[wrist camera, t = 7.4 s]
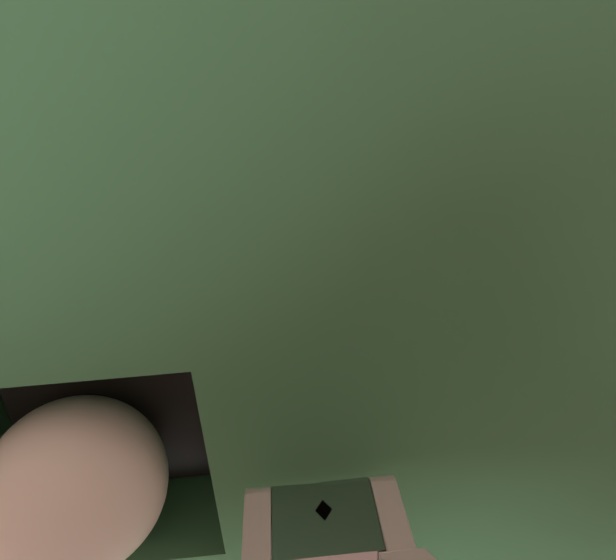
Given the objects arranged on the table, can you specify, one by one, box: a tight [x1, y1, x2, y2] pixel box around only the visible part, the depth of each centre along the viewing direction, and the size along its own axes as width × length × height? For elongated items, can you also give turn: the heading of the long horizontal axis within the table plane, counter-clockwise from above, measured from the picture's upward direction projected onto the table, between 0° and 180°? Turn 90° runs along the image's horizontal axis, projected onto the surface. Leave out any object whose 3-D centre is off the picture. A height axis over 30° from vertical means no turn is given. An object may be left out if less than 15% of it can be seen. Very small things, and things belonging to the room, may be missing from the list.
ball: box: [0, 395, 169, 560], centre depth 11 cm, size 4×4×4 cm
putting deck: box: [0, 0, 616, 560], centre depth 12 cm, size 20×22×3 cm
